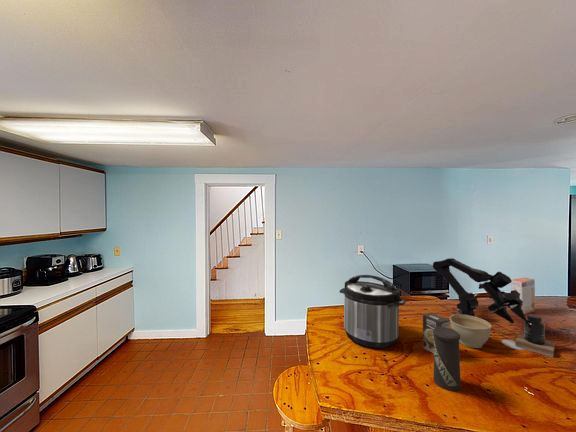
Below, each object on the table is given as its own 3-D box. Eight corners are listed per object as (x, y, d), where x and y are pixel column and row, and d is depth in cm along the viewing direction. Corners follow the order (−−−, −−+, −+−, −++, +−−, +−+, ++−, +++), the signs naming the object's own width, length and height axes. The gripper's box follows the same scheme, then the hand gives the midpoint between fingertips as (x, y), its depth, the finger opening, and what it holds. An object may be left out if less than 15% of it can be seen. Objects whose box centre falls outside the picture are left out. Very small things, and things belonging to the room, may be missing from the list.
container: (427, 376, 94) (427, 325, 93) (449, 374, 94) (448, 324, 94) (444, 392, 85) (443, 336, 85) (467, 390, 86) (467, 335, 86)
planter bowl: (453, 331, 128) (453, 311, 128) (493, 343, 117) (493, 320, 117) (446, 343, 117) (446, 321, 117) (489, 357, 105) (489, 332, 105)
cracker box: (523, 308, 158) (523, 276, 158) (535, 312, 152) (535, 279, 152) (510, 311, 153) (510, 279, 153) (522, 315, 147) (522, 281, 147)
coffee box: (422, 348, 113) (421, 314, 113) (431, 345, 116) (431, 311, 116) (441, 358, 105) (440, 321, 105) (450, 355, 107) (450, 319, 107)
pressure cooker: (416, 344, 116) (415, 279, 116) (368, 357, 107) (367, 286, 106) (374, 319, 145) (373, 267, 144) (333, 327, 135) (332, 271, 135)
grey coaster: (510, 350, 112) (510, 348, 112) (497, 340, 120) (497, 338, 120) (532, 351, 110) (532, 350, 110) (518, 341, 119) (518, 340, 119)
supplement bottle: (547, 346, 108) (547, 320, 108) (526, 342, 112) (526, 317, 112) (542, 340, 114) (542, 315, 114) (522, 336, 118) (522, 312, 118)
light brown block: (553, 357, 104) (553, 351, 104) (515, 346, 114) (515, 341, 114) (554, 347, 112) (554, 342, 112) (519, 337, 121) (519, 332, 121)
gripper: (494, 286, 120) (521, 317, 110) (518, 283, 126) (546, 312, 116) (477, 297, 128) (501, 327, 118) (501, 293, 134) (526, 321, 123)
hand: (519, 321), depth 118 cm, fingers open, 9 cm apart
